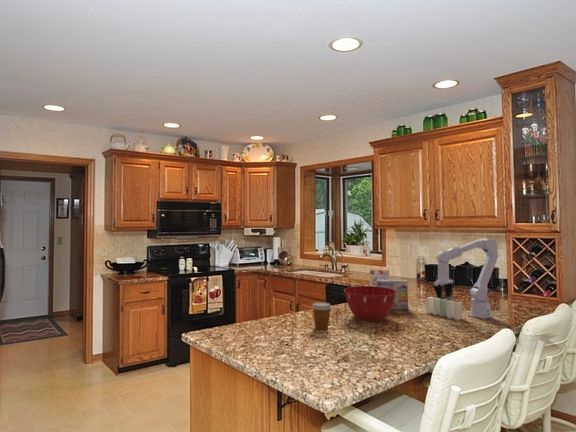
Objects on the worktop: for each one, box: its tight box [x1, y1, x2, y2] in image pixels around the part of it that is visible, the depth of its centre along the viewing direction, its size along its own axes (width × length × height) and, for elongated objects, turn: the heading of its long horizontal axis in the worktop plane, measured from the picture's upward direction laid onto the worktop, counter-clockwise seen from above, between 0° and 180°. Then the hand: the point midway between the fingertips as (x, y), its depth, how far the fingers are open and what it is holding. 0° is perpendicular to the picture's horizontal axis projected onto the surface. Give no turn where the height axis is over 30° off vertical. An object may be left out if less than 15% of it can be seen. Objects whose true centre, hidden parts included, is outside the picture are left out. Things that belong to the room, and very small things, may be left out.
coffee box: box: [435, 277, 454, 301], centre depth 258 cm, size 9×6×16 cm
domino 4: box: [446, 299, 456, 319], centre depth 221 cm, size 2×5×9 cm, turn 122°
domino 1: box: [425, 296, 435, 315], centre depth 233 cm, size 2×5×9 cm, turn 123°
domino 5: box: [453, 301, 463, 321], centre depth 217 cm, size 2×5×9 cm, turn 123°
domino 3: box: [439, 299, 448, 318], centre depth 225 cm, size 2×5×9 cm, turn 122°
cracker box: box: [369, 267, 390, 287], centre depth 273 cm, size 14×6×21 cm, turn 25°
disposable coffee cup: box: [311, 301, 332, 331], centre depth 199 cm, size 10×10×12 cm
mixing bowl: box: [343, 285, 397, 322], centre depth 220 cm, size 28×28×16 cm
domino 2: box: [432, 297, 441, 316], centre depth 229 cm, size 2×5×9 cm, turn 123°
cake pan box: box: [377, 279, 409, 311], centre depth 243 cm, size 19×5×18 cm, turn 76°
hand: (443, 297), depth 225 cm, fingers open, 7 cm apart
